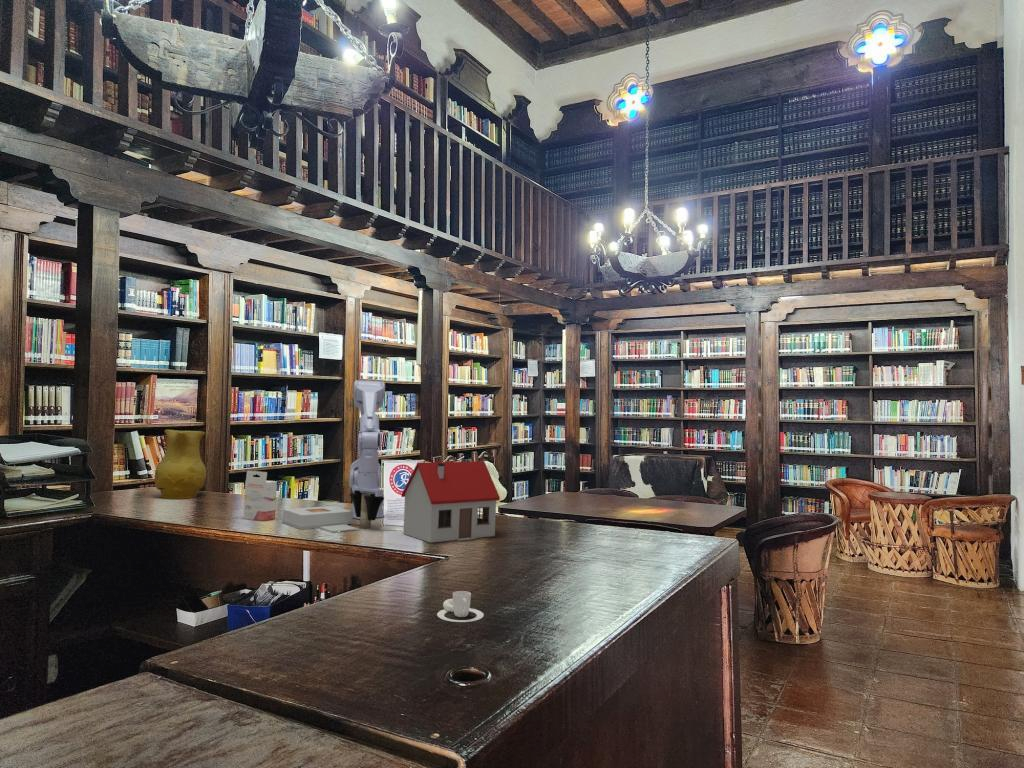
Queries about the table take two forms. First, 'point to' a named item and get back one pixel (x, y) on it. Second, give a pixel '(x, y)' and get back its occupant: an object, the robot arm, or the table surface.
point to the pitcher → (181, 466)
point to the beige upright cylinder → (364, 513)
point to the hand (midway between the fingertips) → (365, 518)
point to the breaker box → (316, 517)
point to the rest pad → (338, 528)
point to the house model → (449, 501)
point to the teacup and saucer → (459, 607)
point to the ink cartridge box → (259, 497)
